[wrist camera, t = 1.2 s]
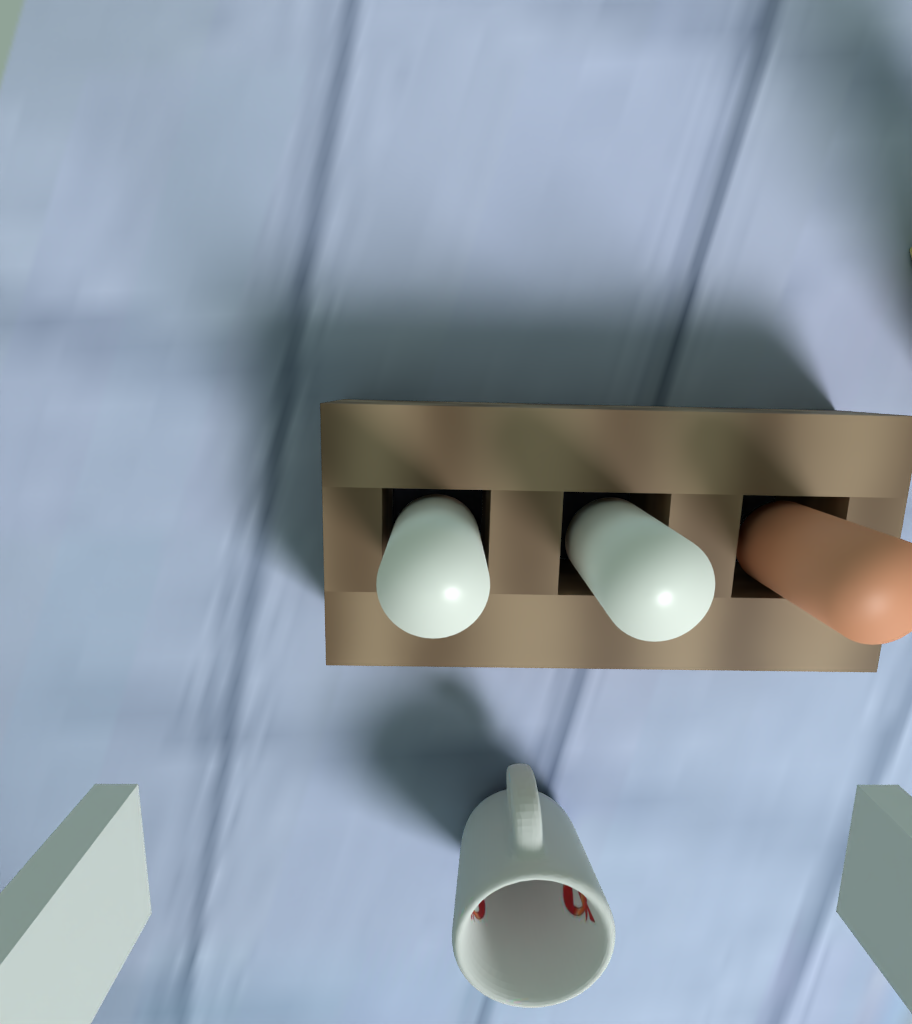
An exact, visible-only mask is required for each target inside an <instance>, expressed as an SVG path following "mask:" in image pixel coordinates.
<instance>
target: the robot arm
mask: <svg viewBox="0 0 912 1024" xmlns="http://www.w3.org/2000/svg"><path fill="white" fill-rule="evenodd" d="M836 912H837V913H838V914H839V916H840V917H841V918H842V920H843V921H844V922H845V924H846V925H847V927H848V928H849V929H850V931H851V932H852V933H853V935H854V936H855V937H856V939H857V940H858V941H859V943H860V944H861V945H862V947H863V948H864V950H865V951H866V952H867V954H868V955H869V956H870V958H871V959H872V960H873V962H874V963H875V964H876V966H877V967H878V968H879V970H880V971H881V973H882V974H883V975H884V977H885V978H886V979H887V981H888V982H889V983H890V985H891V986H892V987H893V989H894V990H895V991H896V993H897V994H898V996H899V997H900V998H901V1000H902V1001H903V1002H904V1004H905V1005H906V1006H907V1008H908V1009H909V1010H910V1012H911V1013H912V797H911V796H910V795H909V794H908V793H907V792H906V791H904V790H903V789H902V788H901V787H900V786H899V785H857V790H856V796H855V802H854V808H853V814H852V820H851V826H850V832H849V838H848V844H847V850H846V856H845V862H844V868H843V874H842V880H841V886H840V892H839V898H838V904H837V910H836ZM151 914H152V913H151V903H150V894H149V884H148V875H147V865H146V855H145V846H144V836H143V826H142V817H141V807H140V798H139V788H138V784H95V785H94V786H93V787H92V788H91V789H90V791H89V792H88V793H87V794H86V795H85V796H84V797H83V799H82V800H81V801H80V802H79V803H78V804H77V806H76V807H75V808H74V809H73V810H72V811H71V812H70V814H69V815H68V816H67V817H66V818H65V819H64V820H63V822H62V823H61V824H60V825H59V826H58V827H57V829H56V830H55V831H54V832H53V833H52V834H51V835H50V837H49V838H48V839H47V840H46V841H45V842H44V844H43V845H42V846H41V847H40V848H39V849H38V850H37V852H36V853H35V854H34V855H33V856H32V857H31V858H30V860H29V861H28V862H27V863H26V864H25V865H24V867H23V868H22V869H21V870H20V871H19V872H18V873H17V875H16V876H15V877H14V878H13V879H12V880H11V881H10V883H9V884H8V885H7V886H6V887H5V888H4V890H3V891H2V892H1V893H0V1024H91V1022H92V1021H93V1019H94V1017H95V1015H96V1013H97V1012H98V1010H99V1008H100V1006H101V1004H102V1002H103V1001H104V999H105V997H106V995H107V993H108V992H109V990H110V988H111V986H112V984H113V982H114V981H115V979H116V977H117V975H118V973H119V972H120V970H121V968H122V966H123V964H124V963H125V961H126V959H127V957H128V955H129V953H130V952H131V950H132V948H133V946H134V944H135V943H136V941H137V939H138V937H139V935H140V934H141V932H142V930H143V928H144V926H145V924H146V923H147V921H148V919H149V917H150V915H151Z"/></svg>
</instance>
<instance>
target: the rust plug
mask: <svg viewBox="0 0 912 1024" xmlns="http://www.w3.org/2000/svg"><path fill="white" fill-rule="evenodd" d="M736 556H737V559H738V562H739V564H740V566H741V567H742V569H743V570H744V571H745V572H746V573H747V574H748V575H749V576H751V577H752V578H754V579H755V580H757V581H758V582H760V583H761V584H763V585H765V586H766V587H768V588H769V589H771V590H772V591H774V592H776V593H777V594H779V595H780V596H782V597H783V598H785V599H787V600H788V601H790V602H791V603H793V604H794V605H796V606H798V607H799V608H801V609H802V610H804V611H805V612H807V613H809V614H810V615H812V616H813V617H815V618H816V619H818V620H820V621H821V622H823V623H824V624H826V625H827V626H829V627H831V628H832V629H834V630H835V631H837V632H838V633H840V634H842V635H843V636H845V637H846V638H848V639H850V640H852V641H855V642H858V643H862V644H870V645H876V644H884V643H889V642H892V641H895V640H897V639H900V638H902V637H903V636H905V635H907V634H908V633H910V632H911V631H912V543H911V542H908V541H905V540H902V539H899V538H897V537H894V536H891V535H888V534H885V533H882V532H879V531H876V530H873V529H870V528H868V527H865V526H862V525H859V524H856V523H853V522H850V521H847V520H844V519H841V518H838V517H836V516H833V515H830V514H827V513H824V512H821V511H818V510H815V509H812V508H809V507H807V506H804V505H801V504H798V503H795V502H791V501H774V502H770V503H767V504H764V505H762V506H760V507H759V508H757V509H755V510H754V511H753V512H752V513H751V514H749V515H748V516H747V518H746V519H745V520H744V521H743V523H742V525H741V526H740V528H739V535H738V543H737V551H736Z"/></svg>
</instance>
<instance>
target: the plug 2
mask: <svg viewBox="0 0 912 1024" xmlns="http://www.w3.org/2000/svg"><path fill="white" fill-rule="evenodd" d="M565 546H566V551H567V555H568V557H569V559H570V561H571V563H572V564H573V566H574V567H575V569H576V570H577V571H578V573H579V574H580V576H581V577H582V579H583V580H584V581H585V583H586V584H587V586H588V587H589V589H590V590H591V591H592V593H593V594H594V596H595V597H596V599H597V600H598V601H599V603H600V604H601V606H602V607H603V608H604V610H605V611H606V613H607V614H608V616H609V617H610V618H611V620H612V621H613V622H614V624H615V625H616V626H617V627H618V628H619V629H620V630H622V631H623V632H624V633H626V634H628V635H630V636H632V637H634V638H637V639H639V640H644V641H652V642H657V641H666V640H670V639H674V638H677V637H679V636H681V635H683V634H685V633H687V632H688V631H690V630H691V629H692V628H694V627H695V626H696V625H697V624H698V623H699V622H700V621H701V620H702V619H703V617H704V616H705V615H706V613H707V611H708V610H709V608H710V605H711V603H712V600H713V597H714V592H715V576H714V571H713V568H712V565H711V563H710V561H709V559H708V557H707V556H706V555H705V553H704V552H703V551H702V550H701V549H700V548H699V547H698V546H697V545H695V544H694V543H693V542H691V541H689V540H688V539H686V538H685V537H683V536H682V535H680V534H679V533H677V532H676V531H674V530H673V529H671V528H669V527H668V526H666V525H665V524H663V523H662V522H660V521H659V520H657V519H656V518H654V517H652V516H651V515H649V514H648V513H646V512H645V511H643V510H642V509H640V508H639V507H637V506H635V505H634V504H632V503H631V502H629V501H626V500H624V499H620V498H613V497H607V498H600V499H597V500H594V501H592V502H589V503H588V504H586V505H584V506H583V507H582V508H581V509H579V510H578V511H577V513H576V514H575V515H574V516H573V518H572V519H571V521H570V523H569V525H568V528H567V531H566V536H565Z"/></svg>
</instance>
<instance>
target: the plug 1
mask: <svg viewBox="0 0 912 1024" xmlns="http://www.w3.org/2000/svg"><path fill="white" fill-rule="evenodd" d="M376 587H377V595H378V599H379V602H380V605H381V607H382V609H383V611H384V612H385V614H386V615H387V616H388V618H389V619H390V620H391V621H392V622H393V623H394V624H395V625H396V626H398V627H399V628H400V629H402V630H404V631H405V632H407V633H409V634H412V635H415V636H418V637H423V638H432V639H434V638H444V637H449V636H452V635H455V634H457V633H459V632H461V631H463V630H465V629H466V628H468V627H469V626H470V625H471V624H473V623H474V622H475V620H476V619H477V618H478V617H479V616H480V614H481V613H482V611H483V610H484V608H485V606H486V603H487V601H488V597H489V592H490V577H489V572H488V567H487V563H486V559H485V554H484V550H483V546H482V541H481V537H480V533H479V528H478V525H477V521H476V519H475V517H474V515H473V514H472V512H471V511H470V510H469V508H468V507H467V506H466V505H464V504H463V503H462V502H460V501H459V500H457V499H455V498H453V497H450V496H447V495H443V494H430V495H425V496H421V497H419V498H417V499H414V500H413V501H411V502H410V503H409V504H407V505H406V506H405V507H404V508H403V509H402V511H401V512H400V513H399V515H398V517H397V519H396V521H395V524H394V527H393V530H392V533H391V535H390V538H389V541H388V544H387V547H386V550H385V552H384V555H383V558H382V561H381V564H380V567H379V569H378V574H377V581H376Z"/></svg>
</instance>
